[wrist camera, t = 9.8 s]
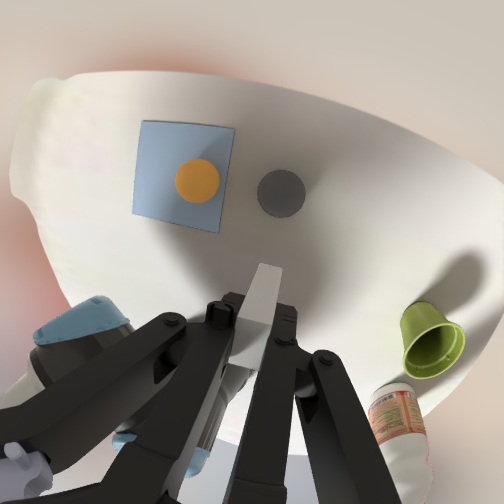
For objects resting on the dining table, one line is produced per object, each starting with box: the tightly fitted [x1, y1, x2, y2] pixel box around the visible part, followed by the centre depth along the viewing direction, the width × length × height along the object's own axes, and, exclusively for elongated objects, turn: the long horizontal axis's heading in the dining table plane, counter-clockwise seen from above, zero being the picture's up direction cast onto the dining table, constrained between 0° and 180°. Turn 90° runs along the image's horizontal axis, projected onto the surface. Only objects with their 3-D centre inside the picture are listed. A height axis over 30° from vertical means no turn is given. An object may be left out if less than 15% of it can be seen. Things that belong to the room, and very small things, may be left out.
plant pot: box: [400, 302, 466, 379], centre depth 32 cm, size 9×9×9 cm
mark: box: [132, 121, 235, 233], centre depth 36 cm, size 14×14×1 cm
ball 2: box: [257, 170, 305, 218], centre depth 32 cm, size 6×6×6 cm
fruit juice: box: [368, 383, 434, 504], centre depth 29 cm, size 9×9×28 cm
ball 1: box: [175, 159, 220, 203], centre depth 33 cm, size 6×6×6 cm
